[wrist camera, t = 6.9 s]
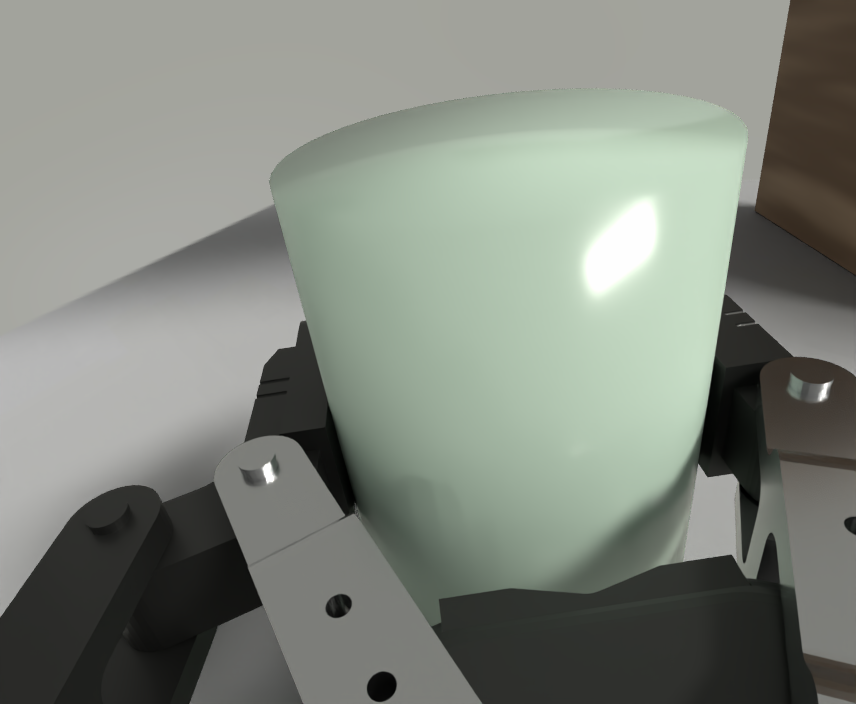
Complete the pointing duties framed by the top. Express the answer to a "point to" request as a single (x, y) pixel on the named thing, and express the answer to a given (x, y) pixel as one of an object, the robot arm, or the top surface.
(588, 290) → the pillar candle
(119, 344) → the top surface
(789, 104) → the overhanging shelf
